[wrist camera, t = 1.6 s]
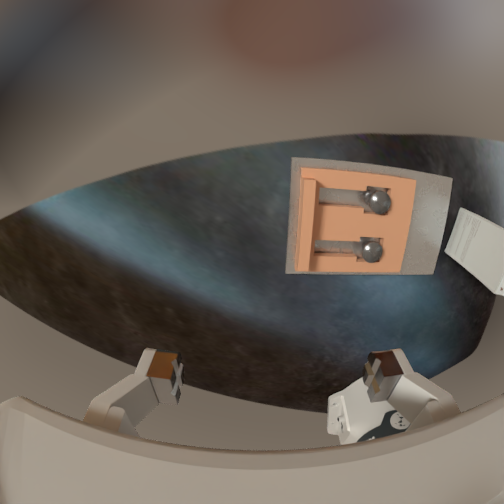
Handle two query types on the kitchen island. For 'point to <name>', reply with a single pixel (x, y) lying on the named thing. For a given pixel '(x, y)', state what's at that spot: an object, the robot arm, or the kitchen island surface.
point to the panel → (351, 221)
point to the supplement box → (479, 249)
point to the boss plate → (419, 219)
